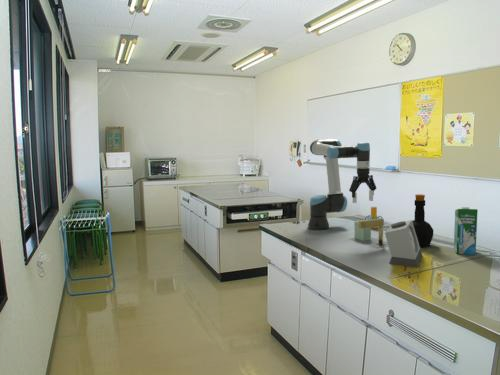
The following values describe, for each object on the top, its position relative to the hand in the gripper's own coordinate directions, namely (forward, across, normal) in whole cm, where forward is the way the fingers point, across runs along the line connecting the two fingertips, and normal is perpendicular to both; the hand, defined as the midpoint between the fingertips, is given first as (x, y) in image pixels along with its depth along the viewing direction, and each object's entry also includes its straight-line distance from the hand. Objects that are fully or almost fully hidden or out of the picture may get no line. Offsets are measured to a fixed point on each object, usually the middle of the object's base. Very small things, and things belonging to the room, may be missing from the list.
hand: (362, 201), depth 235 cm
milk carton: (+24, +28, -49) cm, 61 cm away
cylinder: (+25, +30, +20) cm, 43 cm away
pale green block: (+24, 0, 0) cm, 24 cm away
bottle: (+25, +20, -26) cm, 41 cm away
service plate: (+24, 0, -7) cm, 25 cm away
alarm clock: (+25, -10, -40) cm, 48 cm away
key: (+23, -7, -14) cm, 28 cm away
